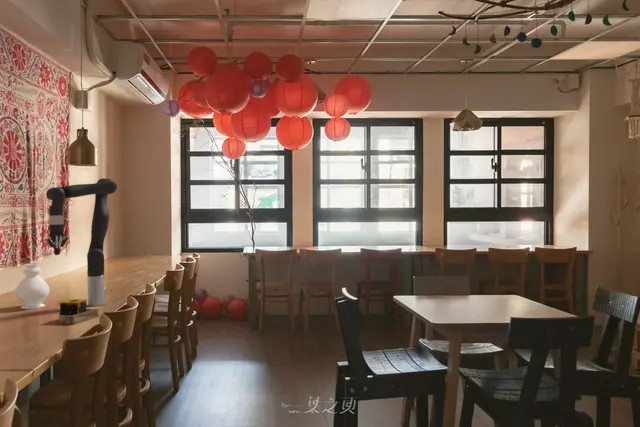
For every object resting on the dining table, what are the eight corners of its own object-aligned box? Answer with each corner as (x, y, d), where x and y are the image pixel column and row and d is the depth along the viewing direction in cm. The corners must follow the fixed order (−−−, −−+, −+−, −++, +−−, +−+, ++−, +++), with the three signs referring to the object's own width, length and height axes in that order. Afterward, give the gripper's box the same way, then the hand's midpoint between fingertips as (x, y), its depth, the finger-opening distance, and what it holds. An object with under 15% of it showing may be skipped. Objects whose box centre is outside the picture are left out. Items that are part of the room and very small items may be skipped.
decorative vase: (41, 302, 344) (40, 261, 344) (55, 306, 333) (54, 263, 332) (10, 307, 331) (9, 264, 330) (23, 311, 319) (22, 266, 319)
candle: (58, 321, 291) (58, 302, 290) (68, 317, 301) (67, 298, 301) (78, 321, 290) (78, 302, 290) (87, 317, 301) (86, 298, 300)
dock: (59, 323, 286) (59, 315, 286) (84, 315, 305) (84, 308, 304) (74, 324, 284) (74, 316, 284) (98, 316, 302) (98, 309, 302)
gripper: (49, 224, 306) (50, 256, 307) (71, 223, 317) (72, 254, 318) (41, 224, 310) (41, 255, 310) (62, 223, 321) (63, 253, 322)
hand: (57, 254), depth 314 cm, fingers closed
